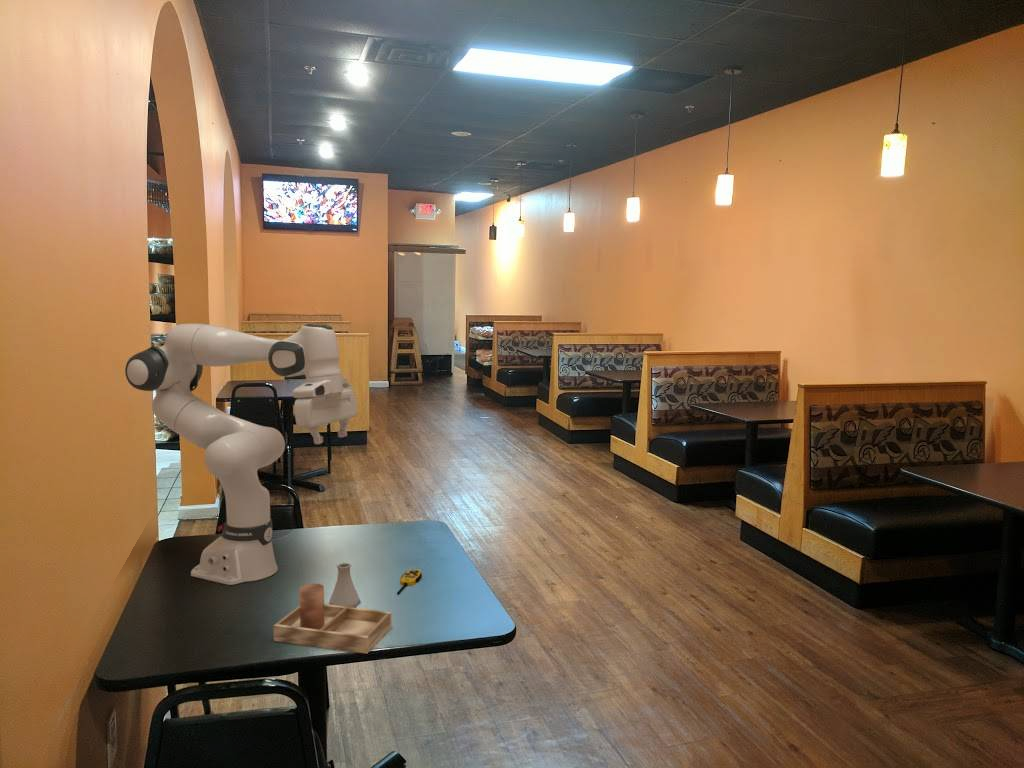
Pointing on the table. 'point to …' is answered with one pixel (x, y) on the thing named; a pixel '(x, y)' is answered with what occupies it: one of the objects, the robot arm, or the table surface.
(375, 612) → the condiment caddy
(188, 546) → the table surface
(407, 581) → the yellow walkie talkie
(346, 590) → the flask
